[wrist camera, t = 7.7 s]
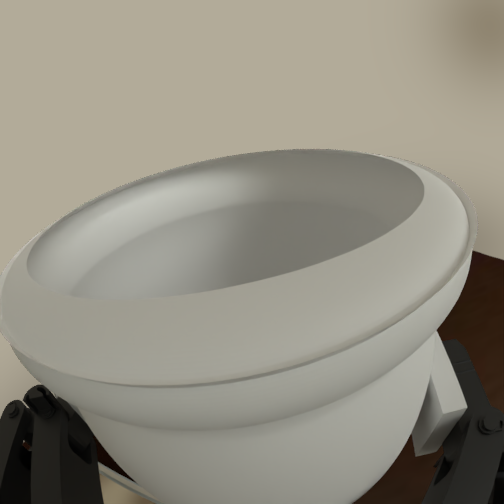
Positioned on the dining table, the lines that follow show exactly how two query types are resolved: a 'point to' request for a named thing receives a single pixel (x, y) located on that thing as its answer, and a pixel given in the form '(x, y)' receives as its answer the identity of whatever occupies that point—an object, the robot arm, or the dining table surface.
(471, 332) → the dining table surface
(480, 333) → the dining table surface
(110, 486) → the plinth
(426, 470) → the dining table surface
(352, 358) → the jar
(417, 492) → the dining table surface
